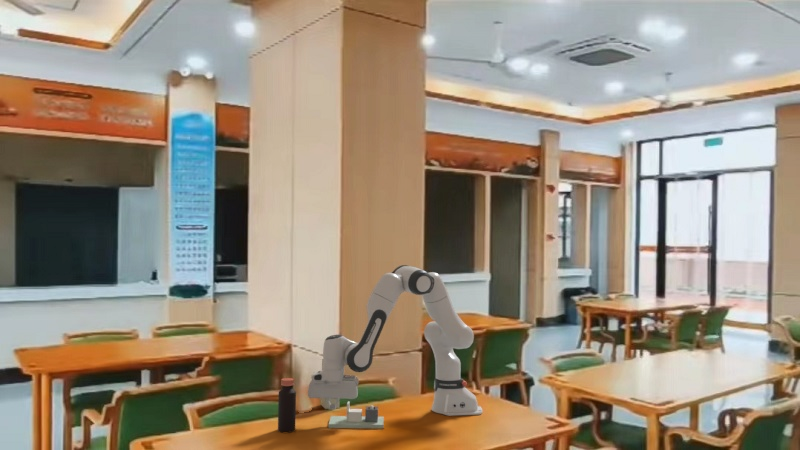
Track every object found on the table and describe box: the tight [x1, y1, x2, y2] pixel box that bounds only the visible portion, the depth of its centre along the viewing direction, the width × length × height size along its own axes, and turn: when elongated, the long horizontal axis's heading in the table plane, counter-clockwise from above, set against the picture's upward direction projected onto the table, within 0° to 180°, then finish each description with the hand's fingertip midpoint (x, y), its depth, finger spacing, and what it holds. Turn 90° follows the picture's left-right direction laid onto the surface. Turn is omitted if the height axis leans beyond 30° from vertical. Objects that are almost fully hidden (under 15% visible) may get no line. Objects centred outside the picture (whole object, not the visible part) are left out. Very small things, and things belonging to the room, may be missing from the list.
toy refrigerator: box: [320, 358, 341, 410], centre depth 298 cm, size 8×7×21 cm
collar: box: [364, 406, 379, 422], centre depth 271 cm, size 5×5×5 cm
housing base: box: [327, 404, 385, 430], centre depth 271 cm, size 22×12×8 cm, turn 91°
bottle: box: [277, 377, 297, 433], centre depth 261 cm, size 7×7×20 cm
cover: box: [346, 400, 363, 422], centre depth 271 cm, size 6×5×7 cm
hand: (332, 409), depth 270 cm, fingers closed
